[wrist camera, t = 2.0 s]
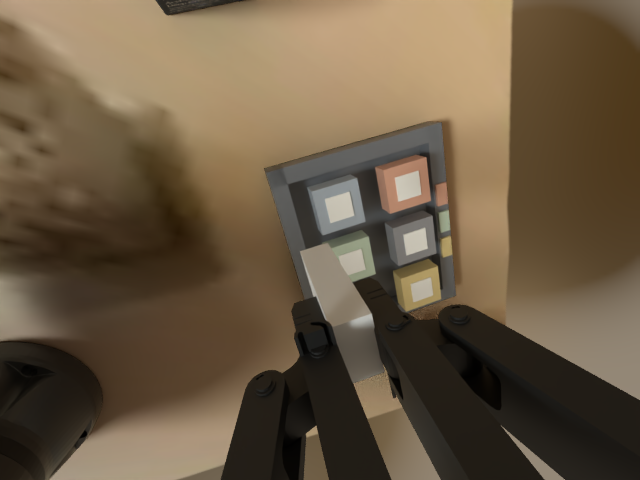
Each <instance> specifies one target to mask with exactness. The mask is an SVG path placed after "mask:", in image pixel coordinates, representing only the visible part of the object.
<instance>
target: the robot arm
mask: <svg viewBox="0 0 640 480" xmlns="http://www.w3.org/2000/svg"><path fill="white" fill-rule="evenodd" d="M300 253H301V257H302V260H303V263H304V267H305V270H306V273H307V277H308V280H309V284H310V287H311V290H312V294H313V296H314V297H312V298H309V299H306V300H303V301H300V302H297V303H294V306H293V309H292V316H293V320H294V324H295V329H296V332H295V335H294V339H295V342H296V345H297V348H298V351H299V354H300V356H299V358H298V360H297V362H296V363H295V364H294V365H293V366H292V367H291V368H289V369H288V370H287V371H285V372H284V373H281V372H278V371H276V370H268V371H265V372H262V373H260V374H258V375H257V376H255V377H254V378H253V379H252V380H251V381H250V382H249V383H248V385H247V387H246V389H245V393H244V396H243V400H242V404H241V407H240V411H239V415H238V418H237V422H236V426H235V429H234V433H233V437H232V440H231V444H230V448H229V451H228V455H227V459H226V462H225V466H224V470H223V474H222V477H221V480H303V478H304V462H305V447H306V446H305V445H306V433H307V432H308V431H309V430H311V429H312V428H313V427H315V426H316V425H317V430H318V434H319V438H320V442H321V447H322V451H323V455H324V460H325V464H326V468H327V473H328V477H329V480H391V478H390V475H389V473H388V470H387V468H386V465H385V463H384V460H383V458H382V455H381V453H380V450H379V448H378V445H377V443H376V440H375V438H374V435H373V433H372V430H371V428H370V425H369V423H368V420H367V418H366V415H365V413H364V410H363V408H362V405H361V403H360V400H359V398H358V395H357V393H356V390H355V388H354V385H353V383H356V382H359V381H361V380H364V379H367V378H370V377H372V376H375V375H378V374H381V373H383V372H384V367H383V365H384V366H385V368H386V370H387V372H388V377H389V382H390V386H391V391H392V395H393V398H395V397H396V395H397V397H398V399H399V401H400V403H401V405H402V407H403V409H404V411H405V412H406V414H407V416H408V418H409V420H410V422H411V424H412V425H413V428H414V429H415V431H416V433H417V435H418V437H419V439H420V441H421V443H422V444H423V447H424V448H425V450H426V452H427V454H428V456H429V458H430V460H431V462H432V464H433V465H434V467H435V469H436V471H437V473H438V475H439V477H440V479H441V480H544V479H543V477H542V476H541V475H540V474H539V473H538V471H537V470H536V469H535V468H534V466H533V465H532V464H531V463H530V461H529V460H528V459H527V458H526V456H525V455H524V454H523V453H522V451H521V450H520V449H519V448H518V447H517V445H516V444H515V443H514V442H513V440H512V439H511V438H510V436H509V435H508V434H507V433H506V432H505V430H504V429H503V428H502V427H504V428H505V429H506V430H507V431H508V432H510V433H511V434H512V435H513V436H514V437H515V438H517V439H518V440H519V441H520V442H522V443H523V444H524V445H525V446H526V447H527V448H528V449H530V450H531V451H532V452H533V453H534V454H535V455H537V456H538V457H539V458H540V459H541V460H543V461H544V462H545V463H546V464H547V465H548V466H550V467H551V468H552V469H553V470H554V471H556V472H557V473H558V474H559V475H560V476H561V477H563V478H564V479H565V480H640V400H638V399H637V398H635V397H633V396H631V395H629V394H628V393H626V392H624V391H622V390H620V389H619V388H617V387H615V386H613V385H611V384H609V383H608V382H606V381H604V380H602V379H601V378H598V377H597V376H595V375H593V374H591V373H590V372H588V371H586V370H584V369H582V368H581V367H579V366H577V365H575V364H573V363H571V362H570V361H568V360H566V359H564V358H562V357H561V356H559V355H557V354H555V353H554V352H552V351H550V350H548V349H546V348H544V347H543V346H541V345H539V344H537V343H535V342H534V341H532V340H530V339H528V338H526V337H524V336H523V335H521V334H519V333H517V332H516V331H514V330H512V329H510V328H508V327H507V326H505V325H503V324H501V323H499V322H497V321H496V320H494V319H492V318H490V317H488V316H487V315H485V314H483V313H481V312H479V311H478V310H476V309H474V308H472V307H469V306H466V305H450V306H448V307H445V308H444V309H442V310H441V311H440V313H439V316H438V318H439V319H431V320H416V319H414V317H412V316H411V315H410V314H408V313H405V312H402V311H401V310H400V309H399V308H398V306H397V305H396V304H395V302H394V301H393V300H392V299H391V297H390V296H389V295H388V294H387V292H386V291H385V290H384V289H383V287H382V286H381V284H380V283H379V282H378V281H376V280H374V279H372V278H367V279H364V280H361V281H358V282H355V283H352V281H351V280H350V278H349V276H348V275H347V273H346V272H345V270H344V268H343V267H342V265H341V264H340V262H339V260H338V259H337V257H336V255H335V254H334V252H333V251H332V249H331V247H330V246H329V244H328V243H325V244H322V245H318V246H315V247H312V248H309V249H306V250H303V251H300ZM395 393H396V394H395ZM101 407H102V391H101V387H100V385H99V383H98V381H97V379H96V377H95V376H94V375H93V373H92V372H91V371H90V370H89V369H88V368H87V367H86V366H85V365H84V364H83V363H81V362H80V361H79V360H77V359H76V358H74V357H72V356H70V355H69V354H67V353H64V352H62V351H60V350H57V349H54V348H51V347H48V346H44V345H39V344H33V343H24V342H4V343H0V480H49V479H50V478H51V477H52V476H53V475H54V474H55V473H56V472H57V471H58V470H59V469H60V468H61V466H62V465H63V464H64V463H65V462H66V461H67V460H68V459H69V458H70V457H71V455H72V454H73V453H74V452H75V451H76V450H77V449H78V448H79V447H80V446H81V444H82V443H83V442H84V441H85V440H86V439H87V437H88V436H89V434H90V432H91V431H92V429H93V427H94V425H95V422H96V420H97V418H98V416H99V413H100V411H101ZM501 426H502V427H501Z"/></svg>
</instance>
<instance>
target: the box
mask: <svg viewBox="0 0 640 480" xmlns="http://www.w3.org/2000/svg"><path fill="white" fill-rule="evenodd" d="M156 1H157V3H158V4H159V6H160V7H161V8H162V10H163V11H164V13H165V14H166V15H171V14H175V13H180V12H185V11H191V10H196V9H200V8H205V7H210V6H216V5H222V4H226V3H231V2H236V1H242V0H156Z"/></svg>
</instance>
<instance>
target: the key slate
mask: <svg viewBox="0 0 640 480" xmlns="http://www.w3.org/2000/svg"><path fill="white" fill-rule="evenodd" d="M307 188H308V192H309V196H310V200H311V204H312V207H313V211H314V215H315V219H316V223H317V227H318V229H319V231H320V232H321V234H322V235H326V234H329V233H332V232H335V231H338V230H341V229H344V228H347V227H351V226H354V225H357V224H360V223H363V222H366V221H365V216H364V211H363V206H362V201H361V195H360V190H359V185H358V180H357V178H356V177H354V176H352V175H351V174H350V175H346V176H343V177H340V178H336V179H333V180H330V181H326V182H323V183H320V184H316V185H313V186H310V187H307Z"/></svg>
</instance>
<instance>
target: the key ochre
mask: <svg viewBox="0 0 640 480" xmlns="http://www.w3.org/2000/svg"><path fill="white" fill-rule="evenodd" d="M393 275H394V281H395V287H396V293H397V299H398V303H399V304H400V305H401V307H402V308H403V309H404V310H405V311H406V312H407V311H410V310H413V309H415V308H418V307H421V306H424V305H426V304H429V303H432V302H435V301H437V300H440V299H441V292H440V282H439V273H438V266H437V265H436V264H434V263H433V262H432V261H430V260H429V259H426V260H423V261H420V262H417V263H414V264H411V265H408V266H405V267H403V268H400V269H397V270H394V271H393Z"/></svg>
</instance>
